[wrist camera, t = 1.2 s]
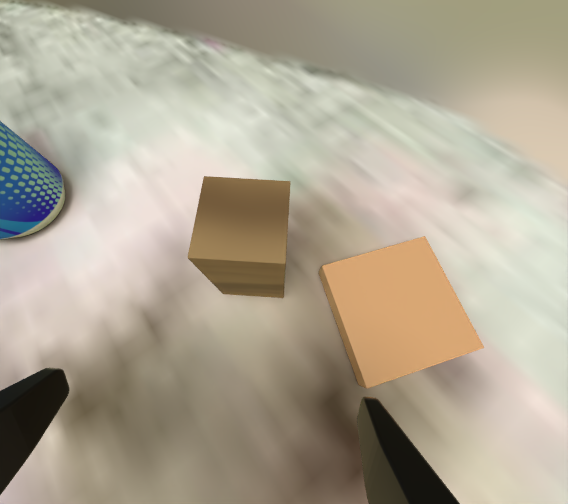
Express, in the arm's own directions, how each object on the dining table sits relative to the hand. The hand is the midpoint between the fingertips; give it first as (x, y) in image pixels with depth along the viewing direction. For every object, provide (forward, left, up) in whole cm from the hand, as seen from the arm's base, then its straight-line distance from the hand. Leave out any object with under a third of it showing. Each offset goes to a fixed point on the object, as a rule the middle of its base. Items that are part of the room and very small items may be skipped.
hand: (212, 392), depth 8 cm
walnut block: (+2, +8, -13) cm, 15 cm away
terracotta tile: (+12, +1, -13) cm, 18 cm away
